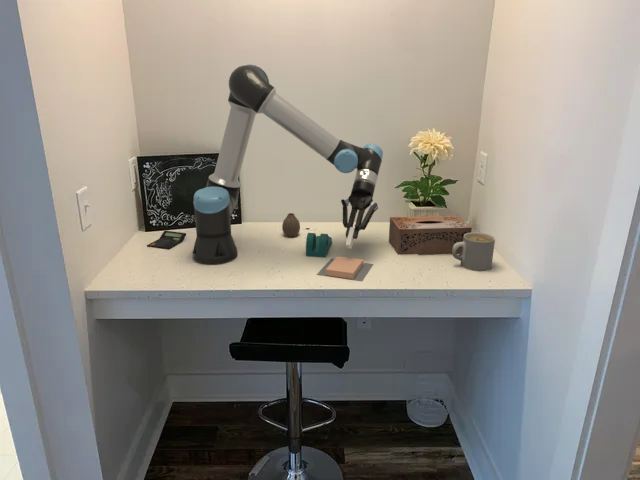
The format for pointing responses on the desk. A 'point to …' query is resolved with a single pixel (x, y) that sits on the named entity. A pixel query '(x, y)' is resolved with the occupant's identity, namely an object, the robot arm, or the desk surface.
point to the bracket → (317, 245)
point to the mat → (358, 277)
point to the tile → (344, 267)
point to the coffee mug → (475, 251)
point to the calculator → (168, 240)
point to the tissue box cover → (427, 234)
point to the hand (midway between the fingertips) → (348, 246)
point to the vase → (291, 225)
